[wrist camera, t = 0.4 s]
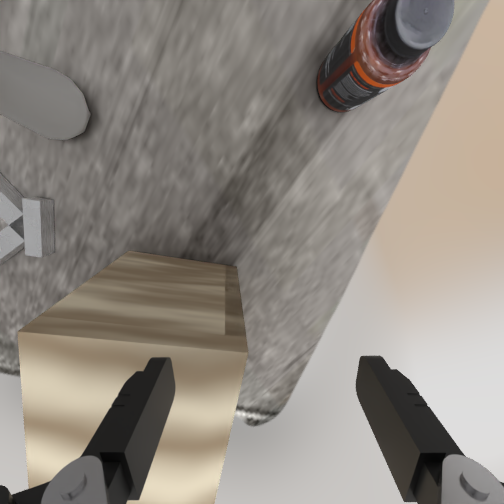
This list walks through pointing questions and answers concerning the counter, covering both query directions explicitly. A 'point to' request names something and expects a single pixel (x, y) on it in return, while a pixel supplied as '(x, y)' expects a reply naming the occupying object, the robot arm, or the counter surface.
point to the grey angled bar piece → (25, 223)
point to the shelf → (138, 368)
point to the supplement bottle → (381, 50)
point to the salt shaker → (41, 98)
